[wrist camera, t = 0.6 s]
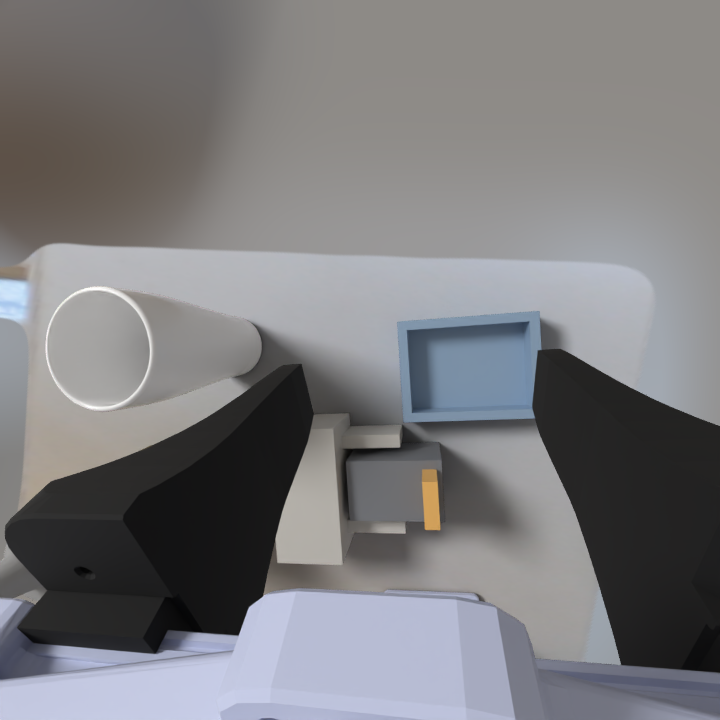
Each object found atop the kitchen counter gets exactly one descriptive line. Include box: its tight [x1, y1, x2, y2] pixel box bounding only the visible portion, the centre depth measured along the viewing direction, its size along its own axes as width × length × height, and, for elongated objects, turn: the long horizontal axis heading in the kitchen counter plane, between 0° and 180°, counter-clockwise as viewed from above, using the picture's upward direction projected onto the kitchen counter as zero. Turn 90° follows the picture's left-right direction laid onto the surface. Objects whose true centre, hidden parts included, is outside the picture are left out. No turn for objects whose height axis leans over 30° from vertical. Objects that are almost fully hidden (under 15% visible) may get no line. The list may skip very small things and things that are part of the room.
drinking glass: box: [46, 286, 262, 412], centre depth 27 cm, size 7×7×15 cm
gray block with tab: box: [346, 442, 445, 530], centre depth 29 cm, size 7×4×8 cm, turn 94°
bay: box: [276, 413, 407, 565], centre depth 30 cm, size 10×10×6 cm
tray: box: [397, 311, 541, 423], centre depth 30 cm, size 8×10×2 cm
